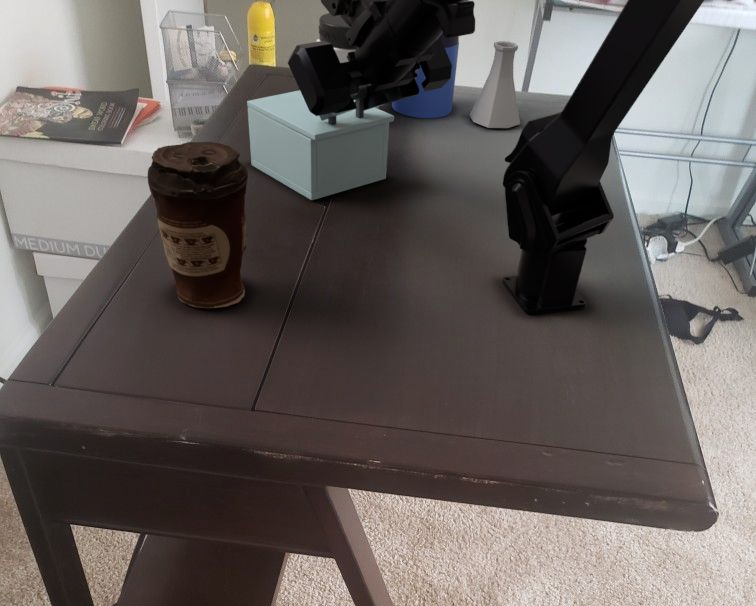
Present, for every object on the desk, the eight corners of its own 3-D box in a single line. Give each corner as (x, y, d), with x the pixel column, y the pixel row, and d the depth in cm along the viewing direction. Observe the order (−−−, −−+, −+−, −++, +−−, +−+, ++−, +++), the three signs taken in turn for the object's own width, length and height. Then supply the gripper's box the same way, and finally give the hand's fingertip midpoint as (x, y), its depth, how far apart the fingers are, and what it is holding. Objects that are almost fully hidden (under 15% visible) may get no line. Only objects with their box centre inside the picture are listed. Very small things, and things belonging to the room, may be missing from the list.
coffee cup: (237, 325, 67) (223, 180, 58) (151, 311, 68) (123, 166, 59) (266, 279, 74) (258, 141, 64) (187, 267, 74) (167, 129, 65)
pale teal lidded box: (386, 178, 92) (389, 120, 88) (311, 200, 87) (310, 139, 82) (324, 146, 99) (324, 90, 94) (251, 165, 93) (247, 106, 88)
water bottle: (437, 95, 116) (458, -110, 98) (462, 116, 110) (489, -100, 92) (382, 99, 114) (392, -112, 96) (404, 120, 108) (420, -101, 90)
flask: (460, 115, 110) (470, 38, 103) (502, 111, 113) (514, 35, 106) (485, 132, 106) (497, 53, 99) (528, 127, 108) (542, 49, 101)
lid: (394, 121, 87) (396, 83, 84) (315, 140, 82) (314, 101, 79) (324, 90, 94) (324, 54, 91) (247, 106, 88) (244, 68, 86)
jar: (309, 108, 109) (307, 12, 101) (358, 102, 112) (361, 9, 104) (335, 129, 104) (336, 29, 95) (386, 122, 107) (392, 25, 98)
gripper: (445, -68, 75) (371, 33, 89) (295, -55, 66) (238, 55, 80) (490, 40, 77) (410, 122, 90) (349, 66, 68) (284, 154, 81)
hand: (339, 112), depth 85 cm, fingers closed on lid, 5 cm apart
